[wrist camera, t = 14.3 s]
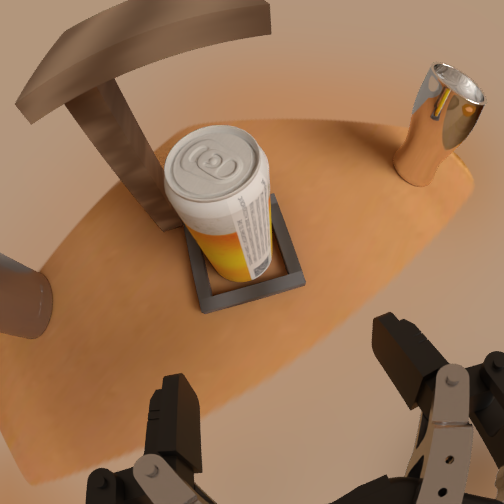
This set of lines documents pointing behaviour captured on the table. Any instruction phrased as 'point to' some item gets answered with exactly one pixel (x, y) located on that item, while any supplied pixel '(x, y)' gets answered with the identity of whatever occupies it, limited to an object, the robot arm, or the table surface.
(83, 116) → the overhang bracket
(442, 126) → the beer glass
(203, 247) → the beer can
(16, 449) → the table surface
